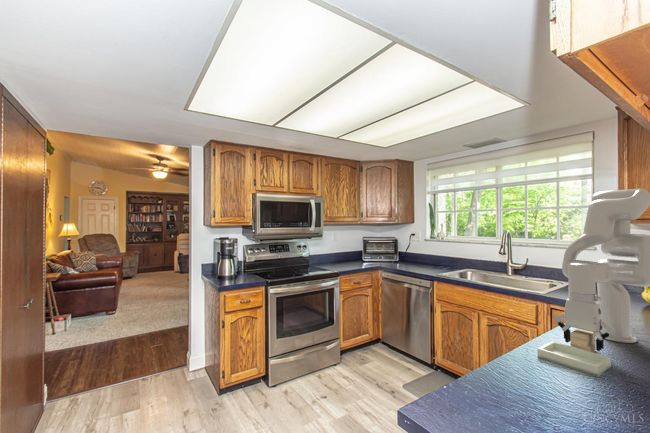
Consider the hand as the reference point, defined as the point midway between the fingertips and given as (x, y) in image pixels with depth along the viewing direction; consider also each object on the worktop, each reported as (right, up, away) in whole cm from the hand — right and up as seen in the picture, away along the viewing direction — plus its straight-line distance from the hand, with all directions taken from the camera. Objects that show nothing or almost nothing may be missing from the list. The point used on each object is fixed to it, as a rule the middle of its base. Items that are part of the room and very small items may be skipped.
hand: (583, 345), depth 108 cm
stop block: (0, -2, 0) cm, 2 cm away
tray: (-10, -2, -8) cm, 13 cm away
